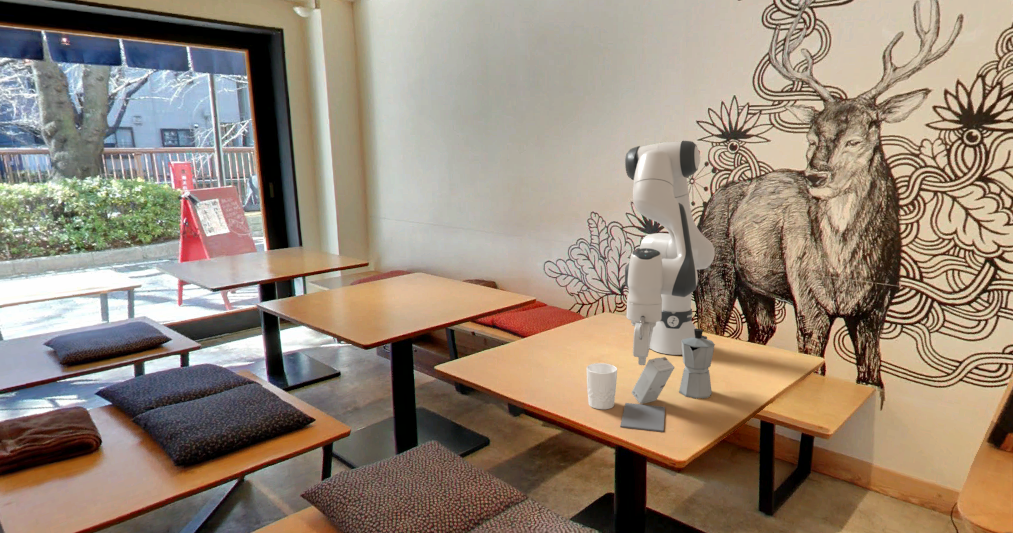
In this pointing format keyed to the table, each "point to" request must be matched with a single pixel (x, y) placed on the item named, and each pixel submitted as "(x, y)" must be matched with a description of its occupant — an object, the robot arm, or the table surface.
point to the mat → (643, 417)
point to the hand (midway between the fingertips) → (642, 363)
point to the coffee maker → (696, 366)
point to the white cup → (601, 385)
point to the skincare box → (652, 380)
